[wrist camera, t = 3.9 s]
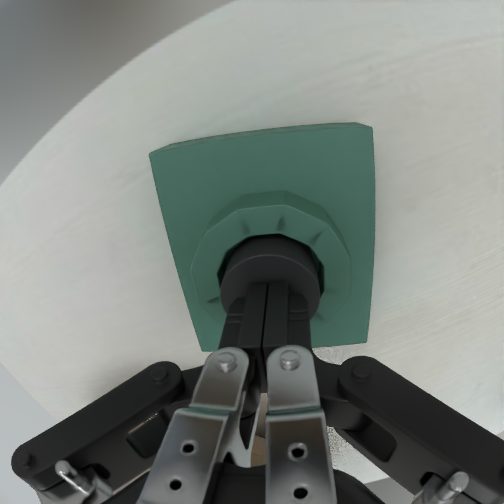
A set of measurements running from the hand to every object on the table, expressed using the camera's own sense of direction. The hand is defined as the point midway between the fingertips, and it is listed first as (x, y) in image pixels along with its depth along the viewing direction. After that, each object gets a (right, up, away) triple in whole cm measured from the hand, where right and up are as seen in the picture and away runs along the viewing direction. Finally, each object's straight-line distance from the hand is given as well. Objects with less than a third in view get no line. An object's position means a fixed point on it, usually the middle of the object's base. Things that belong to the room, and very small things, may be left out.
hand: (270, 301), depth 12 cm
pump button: (0, +1, +2) cm, 2 cm away
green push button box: (+1, +3, +6) cm, 6 cm away
